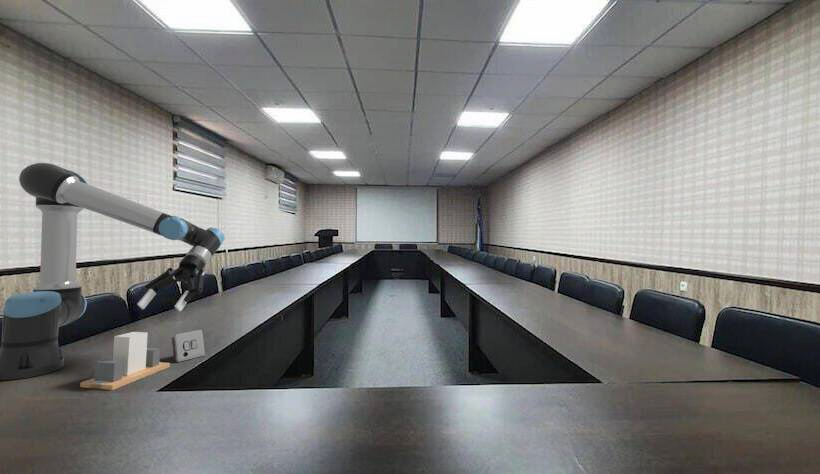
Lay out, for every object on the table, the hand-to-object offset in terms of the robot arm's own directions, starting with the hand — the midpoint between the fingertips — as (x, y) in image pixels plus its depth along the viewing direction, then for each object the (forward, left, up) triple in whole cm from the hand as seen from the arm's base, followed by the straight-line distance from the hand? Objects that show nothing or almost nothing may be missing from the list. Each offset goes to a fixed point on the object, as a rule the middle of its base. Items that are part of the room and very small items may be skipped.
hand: (158, 308), depth 113 cm
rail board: (0, -9, -19) cm, 21 cm away
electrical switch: (+3, +9, -19) cm, 21 cm away
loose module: (0, -9, -17) cm, 20 cm away
